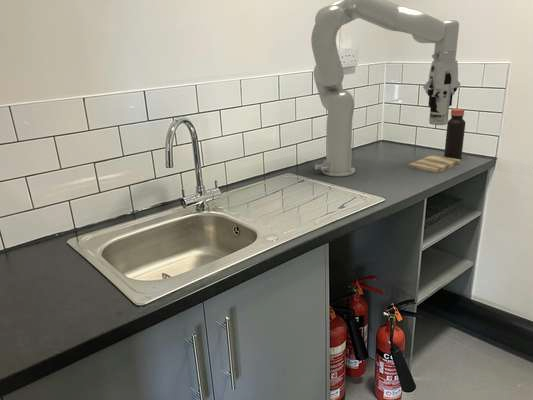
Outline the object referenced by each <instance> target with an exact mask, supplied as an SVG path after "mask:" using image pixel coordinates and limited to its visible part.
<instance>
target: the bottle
mask: <svg viewBox="0 0 533 400" xmlns="http://www.w3.org/2000/svg"><path fill="white" fill-rule="evenodd" d="M464 116H465V109H463V108H451V110H450V117H451V118H450V119H448V122H447V124H446V125H447V126H446V132H445V133H446V135H445V143H444V144H445V145H444V154H443V157H448V158H454V159H459V160H461V159H462V155H463V147H464V139H465V129H466V121H465V120H464V118H463V117H464Z"/></svg>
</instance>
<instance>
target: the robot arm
mask: <svg viewBox="0 0 533 400" xmlns="http://www.w3.org/2000/svg"><path fill="white" fill-rule="evenodd" d="M357 19H361V20H364V21H365V22H367V23H370V24H373V25H375V26H378V27H380V28H382V29H384V30H387V31H391V32H400V33H404V34H409V35H411V36H412V39H413V40H414V41H415V42H417V43H419V44H434V50H433V53H432V55H431V58H432V59H433V61H432V62H431V64H430V69H429V74H428V81H427V82H426V83H425V84H424V85H423V86H422V88H423V90H424V91H425V93H426V94H427V97H429V98H428V107H429V108H431V107H432V108H435V106H436V97H435V95H436V93H437V90H440V89H443V88H444V81H445V74H446V71H447V72H448V71H449V72H448V73H450V74H451V95H450V104H449V107H452V103H453V96H454V95H455V93H456V91H457V90H458V89H459V87H460V86H461V83H460V81H459V65H458V60H456V57H457V49H458V39H459V33H460V32H459V31H460V30H459V29H460V23H459V21H458V20H440V19H438V18H436V17H433V16H431V15H429V14H427V13H424V12H422V11H417V10H415V9H411V8H409V7H406V6H403V5H399V4H397V3H395V2H392V1H390V0H337V1H334V2H333V3H330V4H328V5H326V6H323V7H322V8H320V9H319V10H318V11H317V13H316V15H315V20H314V22H315V23H314V26H313V29H312V32H311V37H310V38H311V39H310V42H311V49H312V54H313V57H314V61H315V65H314V68H313V79H314V82H315V86H316V90H317V92H318V95H319V99H320V102H321V105H322V106H323V108H324V109H325V110H327V116H326V126H325V127H326V129H325V131H326V135H325V136H326V138H325V139H326V143H325V144H326V145H325V146H326V148H325V150H326V151H325V153H326V159H325V160H323V163H321V164H314V170H316V171H317V170H320V171H321V173H323V175H326V176H330V177H347V176H348V177H349V176H353V174H355V173H356V169H355V168H354V167H353V166H352V144H353V143H352V142H353V140H352V139H353V138H352V137H353V119H354V118H353V116H354V112H355V100H354V97H353V95H352V93H350V92H349V91H348V90H347V89H344V88H343V83H342V82H343V81H344V77H345V71H344V68H343V65H342V61H341V58H340V54H339V50H338V46H337V35H338V32H339V31H340V29H341V28H342V26H344V25H347V24H349V23H351V22H353V21H355V20H357ZM448 73H447V74H448ZM433 87H434V88H433ZM433 90H434V91H433Z"/></svg>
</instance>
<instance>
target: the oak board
mask: <svg viewBox="0 0 533 400" xmlns="http://www.w3.org/2000/svg"><path fill="white" fill-rule="evenodd" d="M460 164H461V159H454V158H448V157H444V156H441V155H436V154H431V155H428V156H426V157H424V158H421V159H418V160H415V161H413V162H410V163H408V168H409V169H415V170H419V171H424V172H428V173H433V174H439V173H441V172H444V171H445V170H448V169H450V168H452V167H455V166H457V165H460Z"/></svg>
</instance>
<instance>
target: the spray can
mask: <svg viewBox="0 0 533 400" xmlns="http://www.w3.org/2000/svg"><path fill="white" fill-rule="evenodd" d="M448 72H449V71H448ZM448 72H447V71H446V74H445V81H444V88H443V89H440V90H437V93H436V95H435V97H436V106H435V108H432V107H429V108H430V109H429V119H428V120H429V124H430V125H435V126H445V125H447V123H448V121H449V112H450V111H449V110H450V106H449V104H450V95H451V74H450V73H448ZM447 73H448V74H447ZM433 88H434V87H433ZM433 91H434V90H433Z"/></svg>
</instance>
